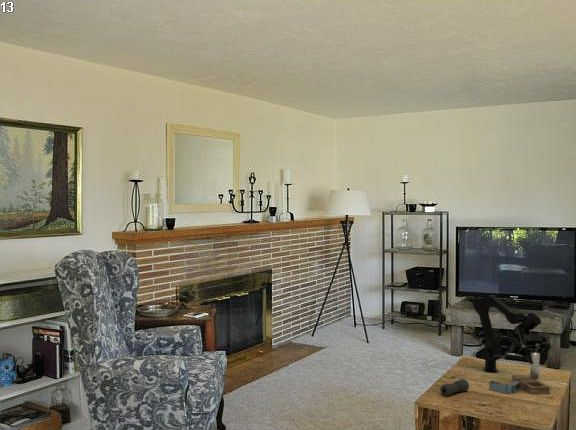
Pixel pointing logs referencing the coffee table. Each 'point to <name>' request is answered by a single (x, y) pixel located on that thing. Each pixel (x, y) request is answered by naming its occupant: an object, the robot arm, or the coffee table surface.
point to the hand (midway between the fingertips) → (536, 363)
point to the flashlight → (454, 387)
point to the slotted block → (531, 384)
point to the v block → (505, 387)
